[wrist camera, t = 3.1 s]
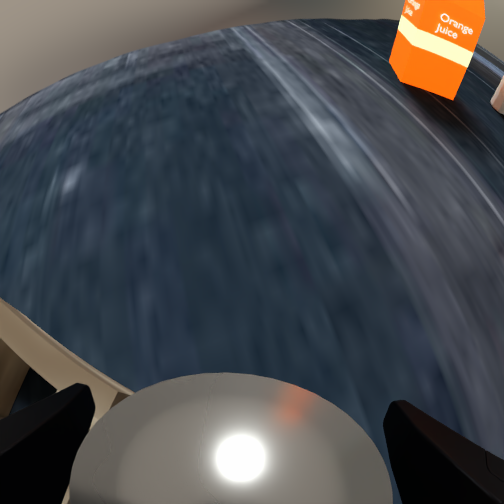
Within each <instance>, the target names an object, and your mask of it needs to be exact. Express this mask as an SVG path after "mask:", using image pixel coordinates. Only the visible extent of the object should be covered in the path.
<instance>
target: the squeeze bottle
mask: <svg viewBox="0 0 504 504" xmlns="http://www.w3.org/2000/svg"><path fill="white" fill-rule="evenodd" d="M491 105H492V107H493V108H495V109H496V110H497V111H498V112H499V113H501V114H503V115H504V76H503V78H502V80H501V82H500V84H499V86H498V87H497V90H496V92H495V94H494V96H493V97H492V99H491Z"/></svg>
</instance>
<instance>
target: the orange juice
mask: <svg viewBox="0 0 504 504" xmlns="http://www.w3.org/2000/svg"><path fill="white" fill-rule="evenodd" d="M484 21H485V10H484V0H406V1H405V5H404V9H403V13H402V15H401V19H400V23H399V27H398V32H397V35H396V39H395V42H394V46H393V49H392V53H391V56H390V60H389V62H390V64H391V66H392V67H393V69H394V71H395V73H396V74H397V76H398V78H399V80H400V82H403V83H407V84H410V85H413V86H416V87H419V88H422V89H425V90H427V91H430V92H433V93H436V94H438V95H441V96H444V97H446V98H449V99H451V100H453V99H454V97H455V94H456V92H457V90H458V88H459V85H460V83H461V81H462V78H463V76H464V74H465V71H466V69H467V67H468V65H469V62H470V60H471V57H472V55H473V51H474V49H475V46H476V43H477V41H478V38H479V35H480V32H481V29H482V26H483V24H484Z"/></svg>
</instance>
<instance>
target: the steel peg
mask: <svg viewBox="0 0 504 504" xmlns="http://www.w3.org/2000/svg"><path fill="white" fill-rule="evenodd" d="M69 500H70V504H393V499H392V488H391V483H390V478H389V474H388V471H387V468H386V466H385V463H384V461H383V458H382V456H381V455H380V453H379V451H378V449H377V448H376V446H375V444H374V443H373V441H372V440H371V439H370V438H369V436H368V435H367V434H366V433H365V431H364V430H363V429H362V428H361V427H360V426H359V425H358V424H357V423H356V422H355V421H354V420H353V419H352V418H351V417H350V416H349V415H347V414H346V413H345V412H343V411H342V410H340V409H339V408H338V407H336V406H335V405H334V404H332V403H331V402H329V401H327V400H325V399H323V398H322V397H320V396H318V395H316V394H314V393H312V392H310V391H307V390H305V389H303V388H300V387H298V386H295V385H293V384H289V383H286V382H282V381H279V380H276V379H272V378H267V377H261V376H256V375H250V374H237V373H204V374H197V375H190V376H182V377H179V378H175V379H171V380H167V381H163V382H160V383H157V384H155V385H152V386H149V387H147V388H144V389H142V390H140V391H138V392H136V393H134V394H132V395H130V396H129V397H127V398H125V399H124V400H122V401H121V402H119V403H118V404H117V405H115V406H114V407H112V408H111V409H110V410H109V411H108V412H106V413H105V414H104V415H103V416H102V417H101V418H100V419H99V420H98V421H97V422H96V423H95V425H94V426H93V427H92V429H91V430H90V431H89V432H88V434H87V435H86V437H85V438H84V440H83V442H82V444H81V446H80V448H79V450H78V452H77V455H76V457H75V460H74V463H73V466H72V471H71V477H70V486H69Z"/></svg>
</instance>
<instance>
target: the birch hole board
mask: <svg viewBox="0 0 504 504" xmlns="http://www.w3.org/2000/svg"><path fill="white" fill-rule="evenodd" d="M30 367H31V368H32V369H34V370H35V371H36V372H37V373H38V374H39V375H40V376H42V377H43V378H44V379H45V380H46V381H48V382H49V383H50V384H51V385H52V386H54V387H55V388H56V389H57V392H59V391H61V390H63V389H65V388H67V387H69V386H71V385H73V384H75V383H82V384H86V385H88V386H89V387H90V389H91V392H92V396H93V399H94V402H95V407H96V409H95V414H94V417H93V420H92V423H91V427H90V430H91V429H92V427H93V426H94V425H95V423H96V422H97V421H98V420H99V419H100V418H101V417H102V416H103V415H104V414H105V413H106V412H108V411H109V410H110V409H111V408H112V407H114V406H115V405H117V404H118V403H119V402H121V401H122V400H124V399H125V398H127V397H129V396H130V395H132V394H134V392H133V391H131V390H129V389H127V388H126V387H124V386H122V385H121V384H119V383H117V382H116V381H114V380H113V379H111V378H109V377H108V376H106V375H105V374H103V373H101V372H100V371H98V370H97V369H95V368H94V367H92V366H91V365H89V364H88V363H86V362H85V361H83V360H82V359H81V358H79V357H78V356H76V355H75V354H73V353H72V352H71V351H69V350H68V349H67V348H65V347H64V346H62V345H61V344H60V343H58V342H57V341H56V340H55V339H53V338H52V337H51V336H49V335H48V334H47V333H45V332H44V331H43V330H42V329H40V328H39V327H38V326H37V325H36V324H34V323H33V322H32V321H31V320H30V319H28V318H27V317H26V316H25V315H24V314H22V313H21V312H19V311H18V310H16V309H15V308H14V307H12V306H11V305H9V304H8V303H7V302H5V301H4V300H2V299H1V298H0V419H2V418H5V417H7V416H9V413H10V411H11V408H12V406H13V403H14V401H15V399H16V396H17V394H18V392H19V389H20V387H21V385H22V383H23V380H24V378H25V376H26V374H27V372H28V370H29V368H30ZM57 392H56V393H57ZM90 430H89V431H90ZM69 486H70V484H69ZM69 486H68V489H67V491H66V494H65V496H64V499H63V501H62V504H70V500H69Z"/></svg>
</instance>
